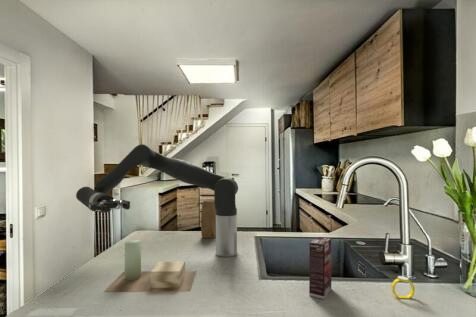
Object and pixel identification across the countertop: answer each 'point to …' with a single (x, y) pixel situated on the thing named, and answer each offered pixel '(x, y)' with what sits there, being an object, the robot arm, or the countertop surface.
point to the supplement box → (320, 267)
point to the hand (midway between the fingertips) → (117, 207)
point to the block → (208, 219)
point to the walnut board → (148, 283)
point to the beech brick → (168, 274)
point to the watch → (403, 279)
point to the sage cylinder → (132, 259)
